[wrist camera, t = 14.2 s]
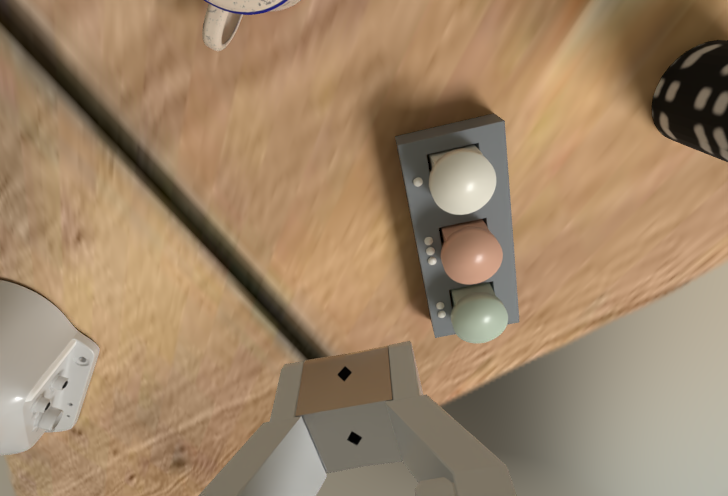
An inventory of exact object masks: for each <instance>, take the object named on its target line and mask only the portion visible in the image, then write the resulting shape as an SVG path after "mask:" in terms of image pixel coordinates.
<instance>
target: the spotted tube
mask: <svg viewBox="0 0 728 496" xmlns="http://www.w3.org/2000/svg"><path fill="white" fill-rule="evenodd" d="M652 117H653V120H654V123H655V125H656V127H657V129H658V130H659V131H660V132H661V133H662V134H663V135H664V136H665V137H667V138H669V139H671V140H673V141H676V142H678V143H681V144H683V145H686V146H688V147H691V148H693V149H696V150H698V151H701V152H703V153H706V154H708V155H711V156H713V157H716V158H719V159H721V160H724V161H726V162H728V41H725V40H716V41H711V42H706V43H704V44H701V45H698V46H696V47H694V48H692V49H691V50H689V51H687V52H686V53H684V54H683V55H682V56H680V57H679V58H678V59H677V60H676V61H675V62H674V63H673V64H672V65H671V66H670V67H669V68H668V69H667V71H666V72H665V74H664V75H663V76H662V78H661V80H660V82H659V84H658V86H657V87H656V90H655V93H654V96H653V102H652Z"/></svg>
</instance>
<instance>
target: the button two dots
mask: <svg viewBox="0 0 728 496" xmlns="http://www.w3.org/2000/svg"><path fill="white" fill-rule="evenodd" d="M450 294H451V301H452V307H453V309H452V311H451V322H452V325H453V328H454V331H455V333H456V334H457V336H458V337H459V338H461V339H462V340H464V341H466V342H470V343H484V342H488V341H491V340H493V339H495V338H496V337H498V336H499V335H500V334H501V333H502V332H503V331H504V330H505V328H506V326H507V323H508V314H507V311H506V309H505V307H504V305H503V303H502V301H501V300H500V299H499V298H498V297H496V295H495V293H494V291H493V289H492V287H491V285H490V283H489V282H487V283H482V284H477V285H471V286H466V287H461V288H456V289H451V290H450Z"/></svg>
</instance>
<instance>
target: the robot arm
mask: <svg viewBox="0 0 728 496" xmlns="http://www.w3.org/2000/svg"><path fill="white" fill-rule="evenodd" d="M98 355H99V347H98V346H97V344H96V343H94V342H93V341H92V340H91V339H89V338H88V337H86V336H85V335H83V334H82V333H80V332H79V331H78V330H77V329H76V328H75V327H74V326H73V325H72V324H71V323H70V321H69V320H68V319H67V318H66V316H65V315H64V314H63V313H62V312H61V311H60V310H59V309H58V308H57V307H56V306H55V305H53V304H52V303H51V302H50V301H48V300H47V299H45V298H44V297H42V296H41V295H39V294H37V293H35V292H33V291H32V290H29V289H27V288H25V287H23V286H20V285H17V284H14V283H11V282H7V281H3V280H0V455H10V454H17V453H21V452H24V451H26V450H28V449H30V448H31V447H32V446H33V445H34V444H35V443H36V442H37V441H38V440H39V438H40V437H41V436H42V435H43V433H44V432H59V431H65V430H69V429H71V428H72V427H73V426H74V425H75V424H76V422H77V420H78V417H79V414H80V411H81V408H82V405H83V402H84V398H85V395H86V392H87V389H88V386H89V383H90V380H91V377H92V374H93V370H94V367H95V364H96V361H97V358H98ZM400 461H403V463H404V464H405V466H406V467H407V468H408V470H409V471H410V472H411V474H412V475H413V476H414V478H415V479H416V480H417V482H418V483H419V484H418V485H417V487H416V488H415V496H517V495H516V492H515V489H514V486H513V483H512V480H511V477H510V474H509V471H508V468H507V466H506V465H505V464H504V463H503V462H502V461H501V460H499V459H498V458H497V457H496V456H495V455H494V454H493V453H492V452H491V451H489V450H488V449H487V448H486V447H485V446H484V445H483V444H482V443H480V442H479V441H478V440H477V439H476V438H475V437H474V436H473V435H471V434H470V433H469V432H468V431H467V430H466V429H465V428H464V427H462V426H461V425H460V424H459V423H458V422H457V421H455V420H454V419H453V418H452V417H451V416H450V415H449V414H448V413H447V412H445V411H444V410H443V409H442V408H441V407H440V406H439V405H438V404H436V403H435V402H434V401H433V400H432V399H431V398H430V397H429V396H427V395H423V392H422V387H421V383H420V378H419V374H418V369H417V365H416V361H415V356H414V352H413V347H412V344H411V342H410V341H407V342H402V343H397V344H392V345H389V346H384V347H379V348H374V349H369V350H364V351H359V352H353V353H348V354H342V355H336V356H330V357H324V358H318V359H311V360H306V361H302V362H295V363H289V364H285V365H284V366H283V368H282V369H281V373H280V377H279V382H278V386H277V391H276V396H275V400H274V405H273V409H272V414H271V418H270V422H266V423H263V424H262V425H261V426H260V427H259V428H258V430H257V431H256V432H255V433H254V434H253V435H252V436H251V437H250V438H249V440H248V441H247V442H246V443H245V444H244V445H243V446H242V447H241V449H240V450H239V451H238V452H237V453H236V454H235V455H234V456H233V458H232V459H231V460H230V461H229V462H228V463H227V464H226V465H225V467H224V468H223V469H222V470H221V471H220V472H219V473H218V474H217V475H216V477H215V478H214V479H213V480H212V481H211V482H210V483H209V484H208V486H207V487H206V488H205V489H204V490H203V491H202V492H201V493H200V495H199V496H316V495H317V493H318V491H319V489H320V487H321V486H322V484H323V482H324V480H325V478H326V476H327V475H326V473H331V472H337V471H342V470H346V469H352V468H357V467H363V466H370V465H378V464H385V463H393V462H400Z"/></svg>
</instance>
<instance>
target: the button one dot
mask: <svg viewBox="0 0 728 496" xmlns="http://www.w3.org/2000/svg"><path fill="white" fill-rule="evenodd" d="M428 157H429V163H430V169H431V172H430V175H429V188H430V192H431V194H432V197H433V199H434V201H435V203H436V204H437V205H438V206H439V207H440V208H441V209H443V210H444V211H446V212H448V213H451V214H456V215H464V214H469V213H472V212H475V211H477V210H479V209H480V208H482V207H483V206H484V205H485V204H486V203H487V202H488V201H489V200H490V198H491V197H492V195H493V193H494V191H495V187H496V173H495V170H494V168H493V166H492V165H491V163H490V162H489V161H488V160H487V159H486V158H485V157H484V156H483V155H482V153H481V152H480V150H479V149H478V148H477V147H476V146H475V145H474V144H471V145H466V146H462V147H457V148H453V149H449V150H444V151H440V152H435V153H431V154H428Z"/></svg>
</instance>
